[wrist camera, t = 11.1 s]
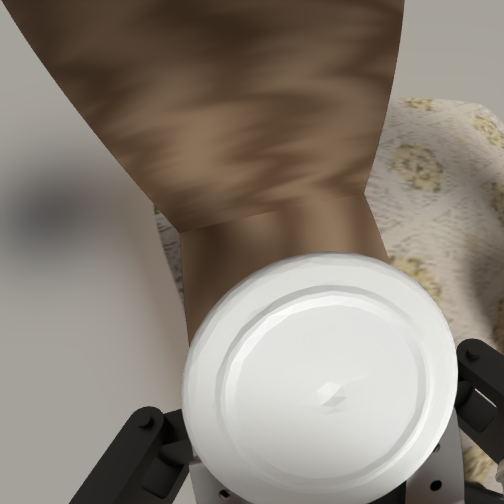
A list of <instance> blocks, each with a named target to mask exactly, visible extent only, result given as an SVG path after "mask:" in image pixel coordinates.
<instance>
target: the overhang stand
mask: <svg viewBox="0 0 504 504" xmlns="http://www.w3.org/2000/svg"><path fill="white" fill-rule="evenodd" d="M404 1H405V0H2V2H3V4H4V5H5V7H6V9H7V10H8V12H9V13H10V15H11V17H12V18H13V20H14V22H15V23H16V25H17V26H18V28H19V29H20V31H21V33H22V34H23V36H24V37H25V39H26V40H27V41H28V43H29V45H30V46H31V48H32V49H33V51H34V52H35V53H36V55H37V56H38V58H39V59H40V60H41V62H42V63H43V65H44V66H45V68H46V69H47V70H48V72H49V73H50V75H51V76H52V77H53V79H54V80H55V82H56V83H57V84H58V86H59V87H60V88H61V90H62V91H63V92H64V94H65V95H66V96H67V98H68V99H69V100H70V102H71V103H72V104H73V106H74V107H75V108H76V110H77V111H78V112H79V114H80V115H81V116H82V117H83V119H84V120H85V121H86V123H87V124H88V125H89V126H90V128H91V129H92V130H93V131H94V133H95V134H96V135H97V136H98V138H99V139H100V140H101V141H102V143H103V144H104V145H105V146H106V148H107V149H108V150H109V151H110V152H111V154H112V155H113V156H114V157H115V159H117V161H118V162H119V163H120V165H121V166H122V167H123V168H124V169H125V170H126V172H127V173H128V174H129V175H130V177H131V178H132V179H133V180H134V181H135V182H136V184H137V185H138V186H139V187H140V188H141V189H142V191H143V192H144V193H145V194H146V195H147V196H148V198H149V199H150V200H151V201H152V202H153V203H154V205H155V206H156V207H157V208H158V209H159V210H160V211H161V212H162V214H163V215H164V216H165V217H166V218H167V219H168V220H169V222H170V223H171V224H172V225H173V226H174V227H175V228H176V229H177V230H178V232H179V233H180V246H181V263H182V278H183V291H184V302H185V313H186V322H187V331H188V340H189V348H190V345H191V342H192V340H193V338H194V335H195V333H196V331H197V330H198V328H199V327H200V325H201V324H202V322H203V321H204V319H205V317H206V316H207V314H208V313H209V311H210V310H211V309H212V308H213V307H214V306H215V304H216V303H217V302H218V301H219V300H220V299H221V298H222V296H223V295H224V294H226V293H227V292H228V291H229V290H230V289H231V288H233V287H234V286H235V285H236V284H237V283H239V282H240V281H242V280H243V279H245V278H246V277H248V276H249V275H251V274H252V273H254V272H255V271H257V270H260V269H262V268H263V267H265V266H267V265H269V264H271V263H273V262H275V261H279V260H282V259H285V258H289V257H292V256H296V255H301V254H305V253H312V252H321V251H340V252H351V253H356V254H360V255H364V256H368V257H373V258H376V259H379V260H381V261H383V262H385V263H388V264H390V262H389V259H388V256H387V253H386V250H385V247H384V244H383V242H382V239H381V236H380V233H379V231H378V228H377V225H376V223H375V220H374V217H373V215H372V212H371V210H370V207H369V205H368V202H367V200H366V198H365V195H364V191H365V188H366V185H367V181H368V178H369V175H370V171H371V168H372V165H373V161H374V158H375V154H376V151H377V147H378V143H379V140H380V136H381V132H382V128H383V124H384V120H385V116H386V112H387V107H388V103H389V99H390V94H391V89H392V84H393V79H394V73H395V69H396V63H397V57H398V50H399V44H400V37H401V30H402V21H403V12H404Z"/></svg>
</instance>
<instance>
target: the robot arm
mask: <svg viewBox="0 0 504 504" xmlns="http://www.w3.org/2000/svg"><path fill="white" fill-rule="evenodd" d="M456 355H457V366H458V380H457V392H456V397H455V402H454V406H453V410H452V414H451V417H450V419H449V422H448V424H447V427H446V429H445V431H444V433H443V435H442V436H441V438H440V440H439V442H438V443H437V445H436V447H435V448H434V450H433V451H432V453H431V454H430V455H429V457H428V458H427V459H426V460H425V462H424V463H423V464H422V465H421V466H420V467H419V468H418V469H417V470H416V471H415V472H414V473H413V474H412V475H411V476H410V477H409V478H408V479H407V480H405V481H404V482H403V483H402V484H400V485H399V486H398V487H396V488H395V489H393V490H392V491H390V492H389V493H387V494H386V495H384V496H382V497H380V498H378V499H376V500H374V501H372V502H370V503H368V504H504V356H503V355H502V354H500V353H499V352H497V351H496V350H495V349H493V348H492V347H490V346H489V345H487V344H486V343H484V342H483V341H481V340H478V339H466V340H464V341H462V342H461V343H460V344H459V345H458V347H457V350H456ZM475 388H476V389H477V390H478V391H480V392H481V393H482V394H483V395H484V396H486V397H487V398H488V399H489V400H490V401H492V402H493V403H494V404H495V405H496V407H497V408H496V407H495V406H494V405H492V404H491V403H490V402H489V401H488V400H486V399H485V398H484V397H483V396H482V395H480V394H479V393H478V392H477V391H476V390H475ZM459 428H460V429H461V430H462V431H463V432H464V433H466V434H467V435H468V436H469V437H470V438H471V439H472V440H473V441H474V442H475V443H476V444H477V445H478V446H479V447H480V448H481V449H482V450H483V451H484V452H485V453H486V454H487V455H488V456H489V457H490V458H491V459H493V460H494V461H495V462H496V463H497V464H498V468H497V474H496V477H495V478H496V481H497V482H501V484H502V487H503V494H500V493H497V492H494V491H491V490H488V489H486V488H483V487H480V486H477V485H475V484H472V483H470V482H467V481H465V480H464V472H463V459H462V449H461V441H460V434H459ZM189 471H190V476H191V480H192V485H193V490H194V494H195V499H196V503H197V504H253V503H251V502H249V501H247V500H245V499H243V498H242V497H240V496H238V495H237V494H235V493H234V492H232V491H230V490H229V489H228V488H226V487H225V486H224V485H223V484H222V483H221V482H220V481H219V480H218V479H217V478H215V477H214V476H213V475H212V474H211V472H210V471H209V470H208V469H207V467H206V466H205V465H204V464H203V462H202V461H201V459H200V458H199V456H198V454H197V453H196V451H195V449H194V447H193V445H192V443H191V441H190V439H189V436H188V433H187V430H186V426H185V423H184V419H183V413H182V409H179V410H176V411H172V412H169V413H165V414H163V413H162V412H161V411H160V410H159V409H158V408H155V407H150V406H148V407H143V408H140V409H138V410H137V411H135V412H134V413H133V414H132V415H131V416H130V418H129V419H128V420H127V422H126V423H125V425H124V426H123V427H122V429H121V430H120V432H119V433H118V435H117V436H116V437H115V439H114V440H113V442H112V443H111V444H110V446H109V447H108V449H107V450H106V451H105V453H104V454H103V456H102V457H101V459H100V460H99V461H98V463H97V464H96V466H95V467H94V468H93V470H92V471H91V473H90V474H89V476H88V477H87V478H86V480H85V481H84V483H83V484H82V486H81V487H80V488H79V490H78V491H77V493H76V494H75V495H74V497H73V498H72V500H71V501H70V503H69V504H172V503H173V501H174V500H175V497H176V496H177V494H178V492H179V490H180V488H181V487H182V485H183V483H184V481H185V479H186V477H187V475H188V473H189Z"/></svg>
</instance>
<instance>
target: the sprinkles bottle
mask: <svg viewBox="0 0 504 504" xmlns="http://www.w3.org/2000/svg"><path fill="white" fill-rule="evenodd" d="M457 380H458V366H457V355H456V350H455V345H454V341H453V337H452V334H451V332H450V329H449V326H448V324H447V321H446V320H445V318H444V316H443V314H442V312H441V310H440V309H439V307H438V306H437V304H436V303H435V302H434V300H433V299H432V298H431V296H430V295H429V294H428V293H427V292H426V291H425V290H424V289H423V288H422V287H421V286H420V285H419V284H418V283H417V282H416V281H415V280H413V279H412V278H411V277H410V276H408V275H407V274H405V273H404V272H402V271H401V270H399V269H397V268H396V267H394V266H392V265H390V264H388V263H385V262H383V261H381V260H379V259H376V258H373V257H368V256H364V255H360V254H356V253H351V252H340V251H321V252H312V253H305V254H301V255H296V256H292V257H289V258H285V259H282V260H279V261H275V262H273V263H271V264H269V265H267V266H265V267H263V268H262V269H260V270H257V271H255V272H254V273H252V274H251V275H249V276H248V277H246V278H245V279H243V280H242V281H240V282H239V283H237V284H236V285H235V286H234V287H233V288H231V289H230V290H229V291H228V292H227V293H226V294H224V295H223V296H222V298H221V299H220V300H219V301H218V302H217V303H216V304H215V306H214V307H213V308H212V309H211V310H210V311H209V313H208V314H207V316H206V317H205V319H204V321H203V322H202V324H201V325H200V327H199V328H198V330H197V331H196V333H195V335H194V338H193V340H192V342H191V345H190V348H189V350H188V352H187V356H186V360H185V364H184V369H183V374H182V383H181V406H182V413H183V419H184V423H185V426H186V430H187V433H188V436H189V439H190V441H191V443H192V445H193V447H194V449H195V451H196V453H197V454H198V456H199V458H200V459H201V461H202V462H203V464H204V465H205V466H206V467H207V469H208V470H209V471H210V472H211V474H212V475H213V476H214V477H215V478H217V479H218V480H219V481H220V482H221V483H222V484H223V485H224V486H225V487H226V488H228V489H229V490H230V491H232V492H234V493H235V494H237V495H238V496H240V497H242V498H243V499H245V500H247V501H249V502H251V503H253V504H368V503H370V502H372V501H374V500H376V499H378V498H380V497H382V496H384V495H386V494H387V493H389V492H390V491H392V490H393V489H395V488H396V487H398V486H399V485H400V484H402V483H403V482H404V481H405V480H407V479H408V478H409V477H410V476H411V475H412V474H413V473H414V472H415V471H416V470H417V469H418V468H419V467H420V466H421V465H422V464H423V463H424V462H425V460H426V459H427V458H428V457H429V455H430V454H431V453H432V451H433V450H434V448H435V447H436V445H437V443H438V442H439V440H440V438H441V436H442V435H443V433H444V431H445V429H446V427H447V424H448V422H449V419H450V417H451V414H452V410H453V406H454V402H455V397H456V392H457Z"/></svg>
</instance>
